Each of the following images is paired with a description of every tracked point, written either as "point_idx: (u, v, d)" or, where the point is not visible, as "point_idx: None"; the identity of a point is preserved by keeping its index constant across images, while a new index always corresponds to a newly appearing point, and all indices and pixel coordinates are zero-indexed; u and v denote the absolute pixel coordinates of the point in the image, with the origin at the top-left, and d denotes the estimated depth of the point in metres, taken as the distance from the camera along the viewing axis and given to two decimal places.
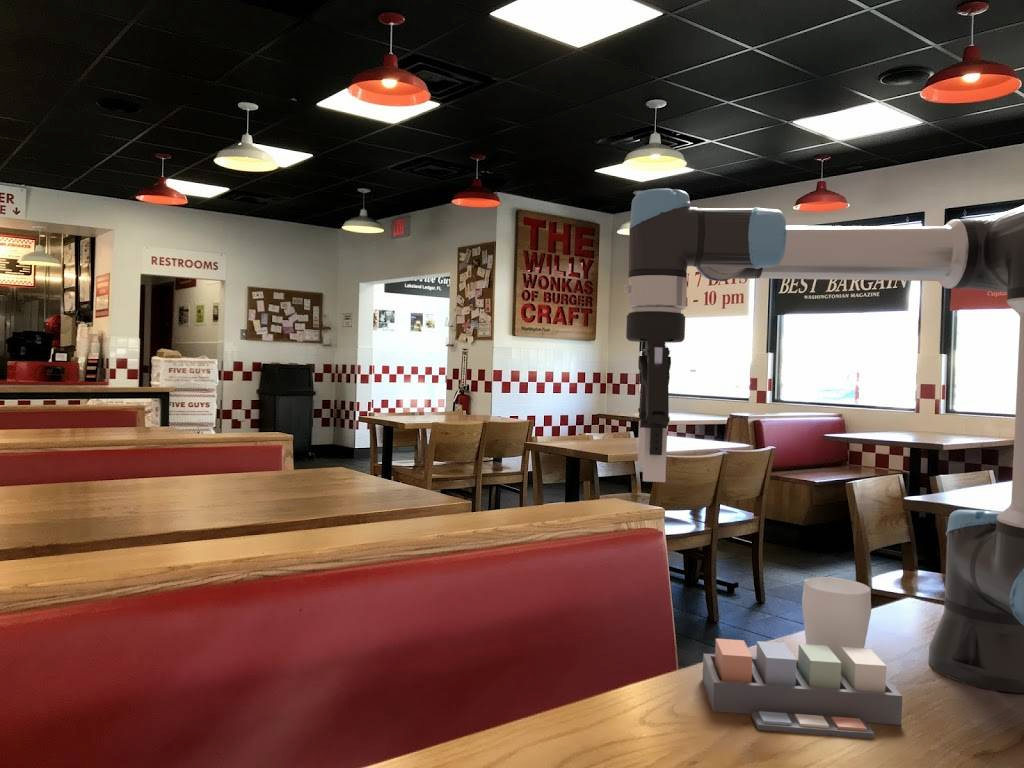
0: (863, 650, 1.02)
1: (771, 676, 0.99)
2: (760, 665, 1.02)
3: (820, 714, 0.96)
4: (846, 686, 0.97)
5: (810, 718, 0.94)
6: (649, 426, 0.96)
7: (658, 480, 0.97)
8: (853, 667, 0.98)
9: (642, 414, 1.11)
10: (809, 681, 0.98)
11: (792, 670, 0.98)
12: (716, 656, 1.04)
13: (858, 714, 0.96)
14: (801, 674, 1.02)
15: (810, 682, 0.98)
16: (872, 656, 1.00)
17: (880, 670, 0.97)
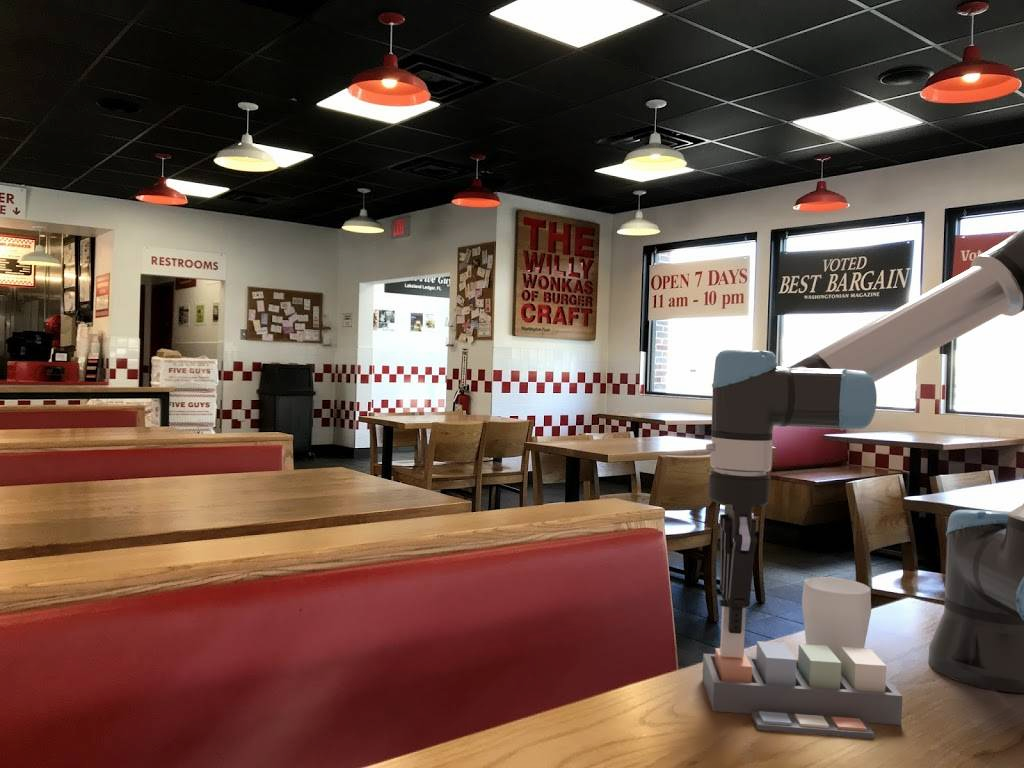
0: (863, 650, 1.02)
1: (771, 676, 0.99)
2: (760, 665, 1.02)
3: (820, 714, 0.96)
4: (846, 686, 0.97)
5: (810, 718, 0.94)
6: (728, 606, 1.01)
7: (736, 656, 1.01)
8: (853, 667, 0.98)
9: (726, 591, 1.03)
10: (809, 681, 0.98)
11: (792, 670, 0.98)
12: (716, 666, 1.04)
13: (858, 714, 0.96)
14: (801, 674, 1.02)
15: (810, 682, 0.98)
16: (872, 656, 1.00)
17: (880, 670, 0.97)
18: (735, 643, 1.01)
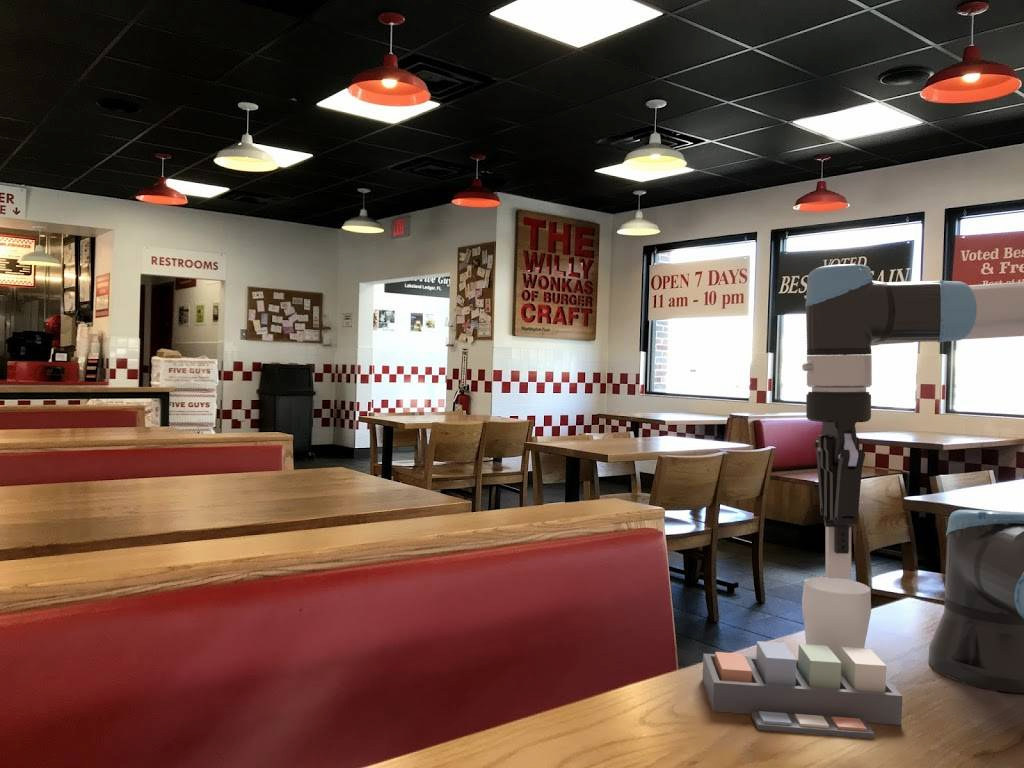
0: (863, 650, 1.02)
1: (771, 676, 0.99)
2: (760, 665, 1.02)
3: (820, 714, 0.96)
4: (846, 686, 0.97)
5: (810, 718, 0.94)
6: (834, 526, 0.99)
7: (844, 577, 1.00)
8: (853, 667, 0.98)
9: (829, 513, 1.01)
10: (809, 681, 0.98)
11: (792, 670, 0.98)
12: (716, 670, 1.04)
13: (858, 714, 0.96)
14: (801, 674, 1.02)
15: (810, 682, 0.98)
16: (872, 656, 1.00)
17: (880, 670, 0.97)
18: (842, 564, 1.00)
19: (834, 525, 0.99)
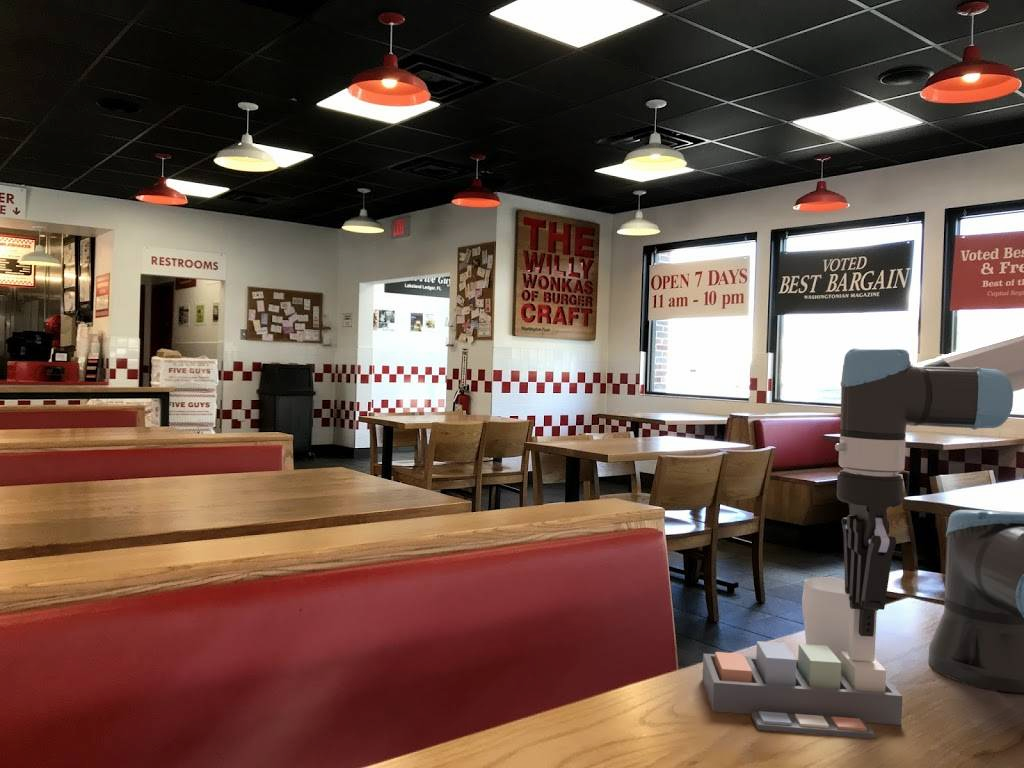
0: None
1: (771, 676, 0.99)
2: (760, 665, 1.02)
3: (820, 714, 0.96)
4: (846, 686, 0.97)
5: (810, 718, 0.94)
6: (860, 609, 0.99)
7: (867, 659, 0.99)
8: (853, 671, 0.98)
9: (854, 593, 1.01)
10: (809, 681, 0.98)
11: (792, 670, 0.98)
12: (716, 670, 1.04)
13: (858, 714, 0.96)
14: (801, 674, 1.02)
15: (810, 682, 0.98)
16: None
17: (880, 675, 0.97)
18: (866, 646, 0.99)
19: (860, 607, 0.98)
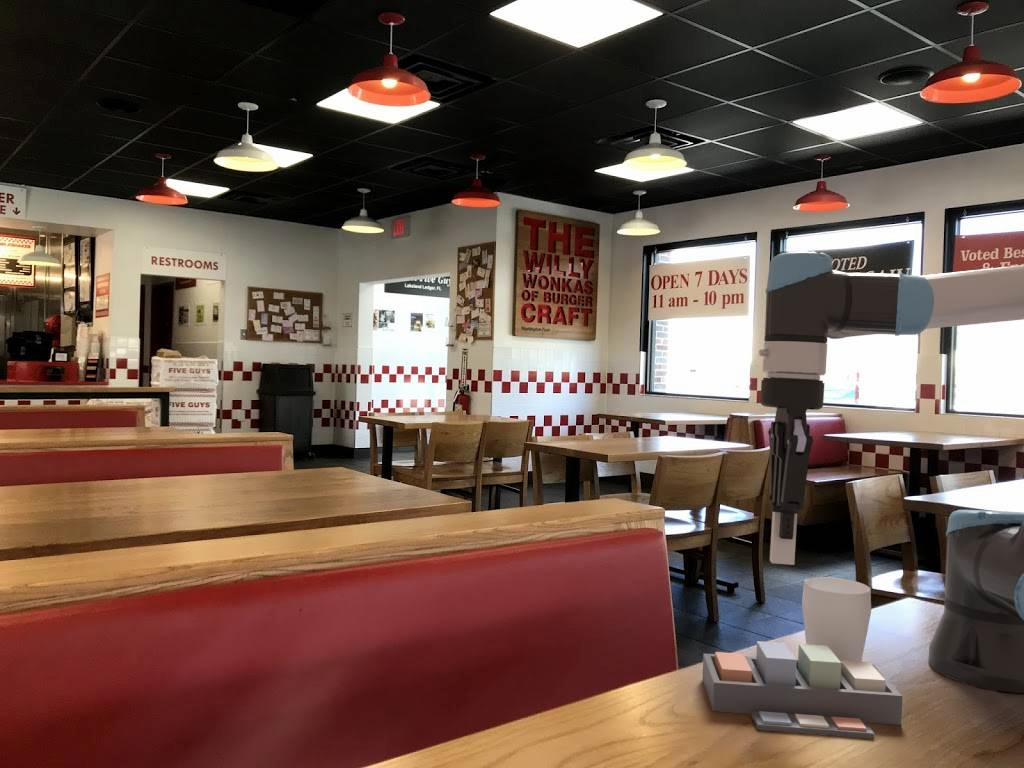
0: (863, 664, 1.02)
1: (771, 676, 0.99)
2: (760, 665, 1.02)
3: (820, 714, 0.96)
4: (846, 686, 0.97)
5: (810, 718, 0.94)
6: (780, 512, 1.00)
7: (787, 563, 1.00)
8: (853, 681, 0.98)
9: (776, 499, 1.02)
10: (809, 681, 0.98)
11: (792, 670, 0.98)
12: (716, 670, 1.04)
13: (858, 714, 0.96)
14: (801, 674, 1.02)
15: (810, 682, 0.98)
16: (871, 670, 1.00)
17: (879, 685, 0.97)
18: (786, 550, 1.00)
19: (780, 510, 0.99)
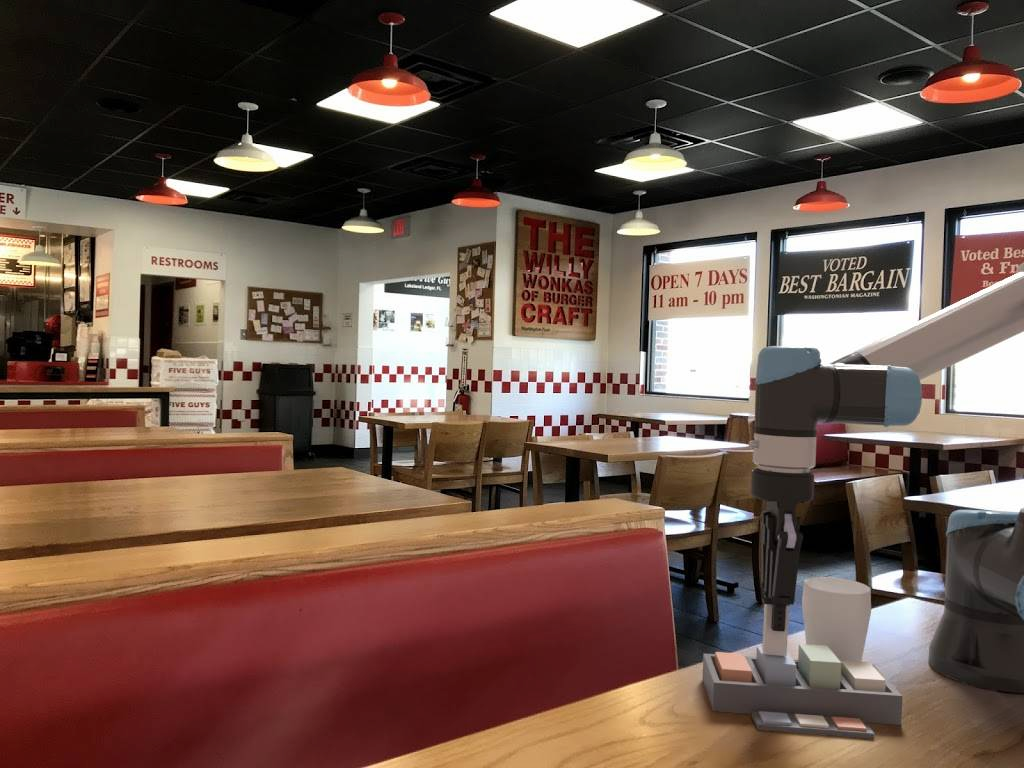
0: (863, 664, 1.02)
1: (771, 681, 0.99)
2: (760, 670, 1.02)
3: (820, 714, 0.96)
4: (846, 686, 0.97)
5: (810, 718, 0.94)
6: (772, 604, 1.00)
7: (779, 654, 1.01)
8: (853, 681, 0.98)
9: (768, 589, 1.02)
10: (809, 681, 0.98)
11: (792, 675, 0.98)
12: (716, 670, 1.04)
13: (858, 714, 0.96)
14: (801, 674, 1.02)
15: (810, 682, 0.98)
16: (871, 670, 1.00)
17: (879, 685, 0.97)
18: (778, 641, 1.01)
19: (772, 603, 1.00)
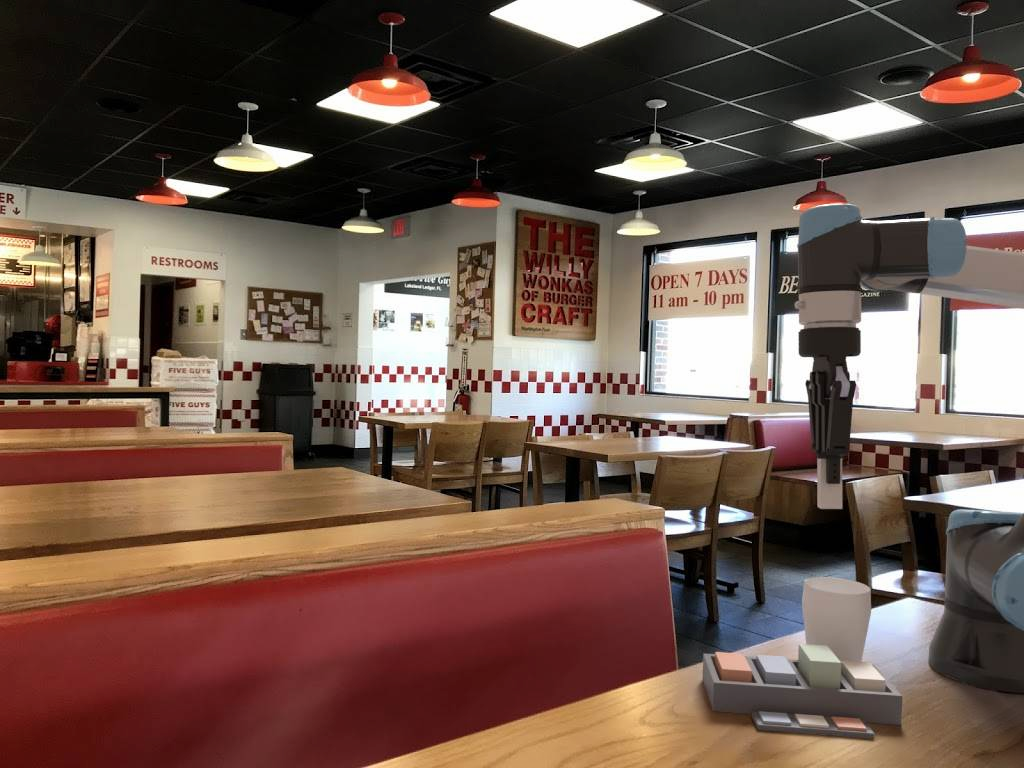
0: (863, 664, 1.02)
1: None
2: None
3: (820, 714, 0.96)
4: (846, 686, 0.97)
5: (810, 718, 0.94)
6: (826, 458, 1.02)
7: (835, 507, 1.03)
8: (853, 681, 0.98)
9: (820, 446, 1.05)
10: (809, 681, 0.98)
11: (791, 684, 0.98)
12: (716, 670, 1.04)
13: (858, 714, 0.96)
14: (801, 674, 1.02)
15: (810, 682, 0.98)
16: (871, 670, 1.00)
17: (879, 685, 0.97)
18: (833, 495, 1.03)
19: (826, 456, 1.02)
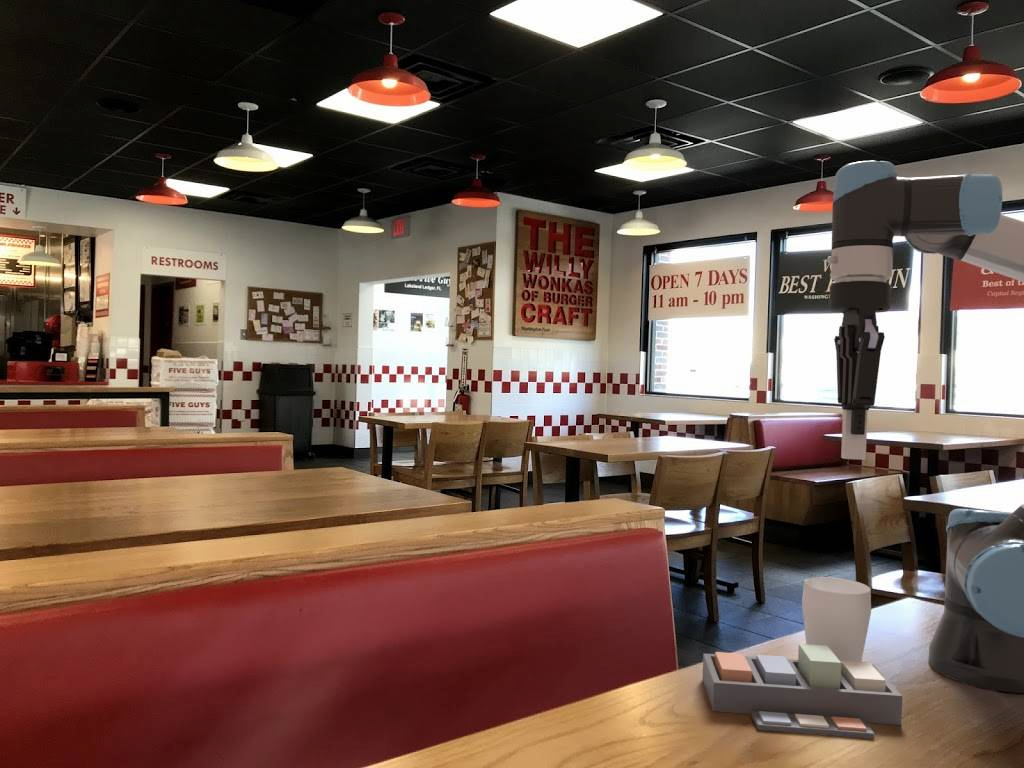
0: (863, 664, 1.02)
1: None
2: None
3: (820, 714, 0.96)
4: (846, 686, 0.97)
5: (810, 718, 0.94)
6: (851, 409, 1.05)
7: (859, 458, 1.06)
8: (853, 681, 0.98)
9: (846, 399, 1.07)
10: (809, 681, 0.98)
11: (791, 684, 0.98)
12: (716, 670, 1.04)
13: (858, 714, 0.96)
14: (801, 674, 1.02)
15: (810, 682, 0.98)
16: (871, 670, 1.00)
17: (879, 685, 0.97)
18: (857, 446, 1.06)
19: (852, 407, 1.05)
